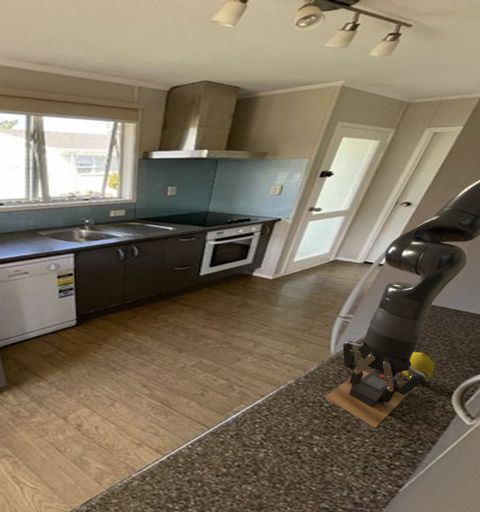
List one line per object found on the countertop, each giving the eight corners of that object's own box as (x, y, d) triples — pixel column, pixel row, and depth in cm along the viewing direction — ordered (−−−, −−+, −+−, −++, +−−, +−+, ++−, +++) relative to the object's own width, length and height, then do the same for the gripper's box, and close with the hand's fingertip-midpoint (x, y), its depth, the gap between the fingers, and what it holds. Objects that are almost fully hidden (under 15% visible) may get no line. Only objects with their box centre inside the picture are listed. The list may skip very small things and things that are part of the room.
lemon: (430, 391, 69) (444, 363, 66) (399, 381, 71) (410, 355, 69) (421, 377, 73) (433, 351, 71) (392, 369, 76) (402, 343, 73)
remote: (372, 408, 63) (376, 400, 62) (348, 394, 67) (351, 386, 66) (396, 385, 70) (399, 378, 69) (373, 374, 73) (375, 367, 72)
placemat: (361, 370, 75) (361, 369, 75) (408, 393, 68) (409, 392, 68) (324, 398, 66) (324, 397, 66) (374, 429, 58) (375, 427, 58)
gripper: (448, 342, 57) (416, 409, 62) (359, 311, 69) (339, 369, 74) (437, 354, 54) (404, 423, 59) (345, 318, 65) (325, 379, 71)
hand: (368, 393), depth 67 cm, fingers closed on remote, 4 cm apart
